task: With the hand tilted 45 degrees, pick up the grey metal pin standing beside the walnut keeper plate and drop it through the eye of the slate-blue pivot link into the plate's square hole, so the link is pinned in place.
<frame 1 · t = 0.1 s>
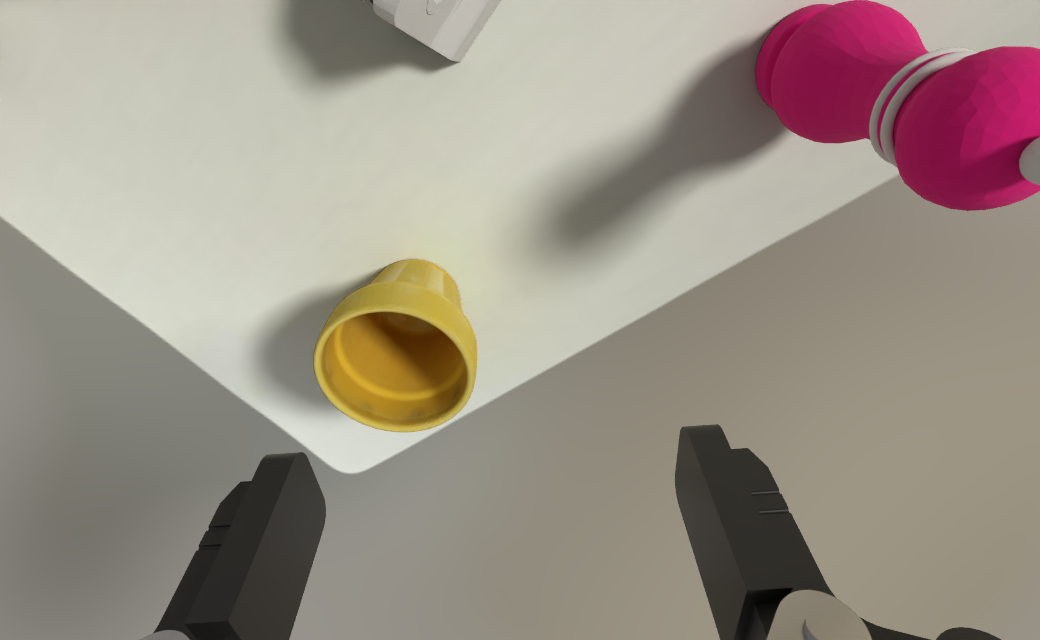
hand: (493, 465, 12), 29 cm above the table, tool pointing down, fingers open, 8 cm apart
plant pot: (415, 294, 44), on the table
pepper mill: (804, 60, 35), on the table
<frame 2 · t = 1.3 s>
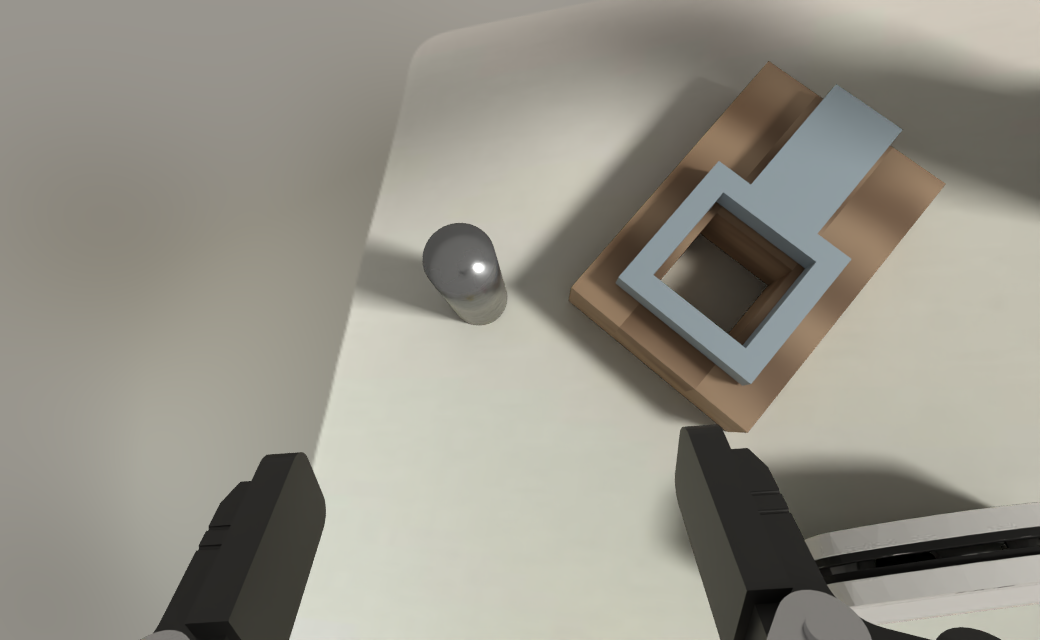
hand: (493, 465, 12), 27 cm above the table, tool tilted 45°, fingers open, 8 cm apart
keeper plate: (707, 290, 40), on the table
pivot link: (774, 219, 36), point 5 cm above the table, hinge at 0.0°
pin: (479, 298, 41), on the table
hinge: (895, 553, 37), on the table
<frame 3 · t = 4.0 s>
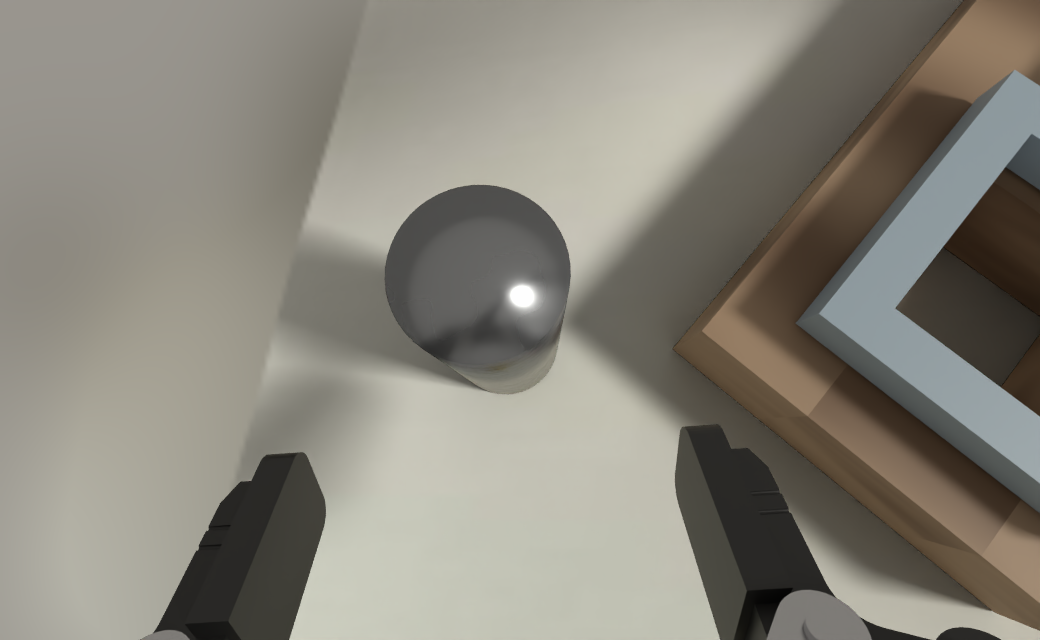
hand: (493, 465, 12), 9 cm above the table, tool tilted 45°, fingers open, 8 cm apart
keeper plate: (934, 330, 21), on the table
pin: (506, 342, 22), on the table
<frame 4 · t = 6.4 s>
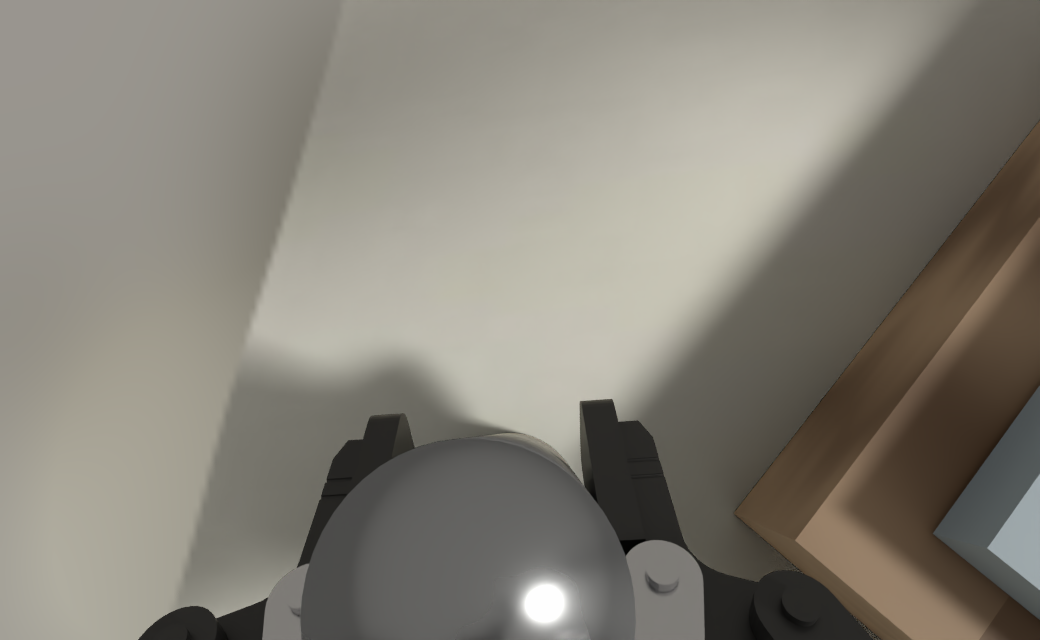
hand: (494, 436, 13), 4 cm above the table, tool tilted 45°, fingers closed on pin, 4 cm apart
pin: (510, 502, 17), on the table, touching gripper
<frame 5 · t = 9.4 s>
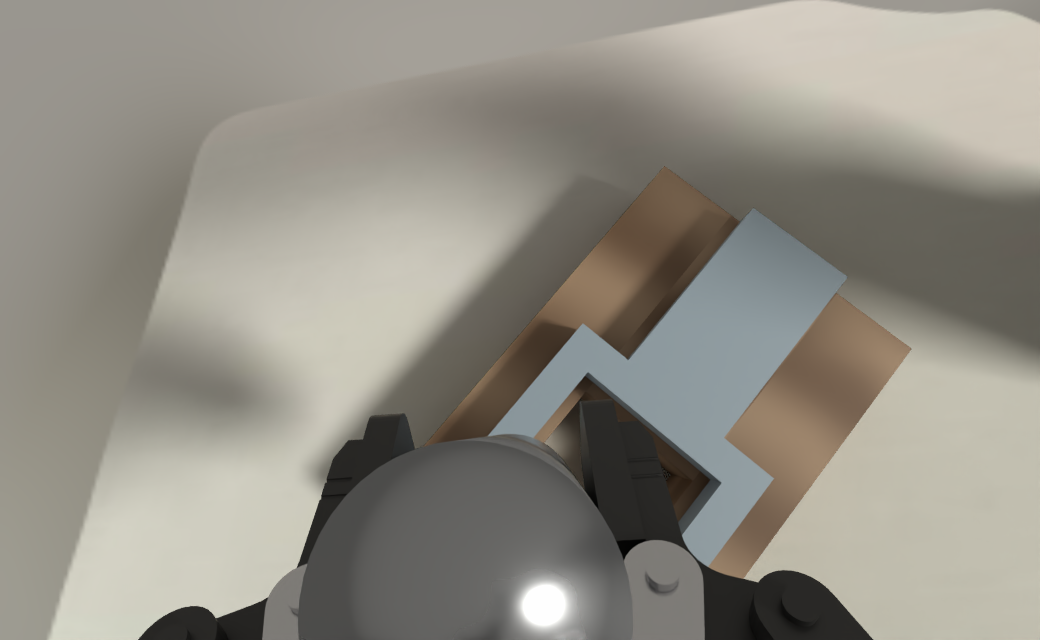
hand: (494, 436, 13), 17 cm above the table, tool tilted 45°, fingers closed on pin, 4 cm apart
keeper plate: (587, 481, 29), on the table
pivot link: (664, 408, 24), point 5 cm above the table, hinge at 0.0°
pin: (510, 503, 16), point 12 cm above the table, touching gripper
when the fingers open (10 cm above the table, at t = 12.2 s): pin drops 6 cm, resting in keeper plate.
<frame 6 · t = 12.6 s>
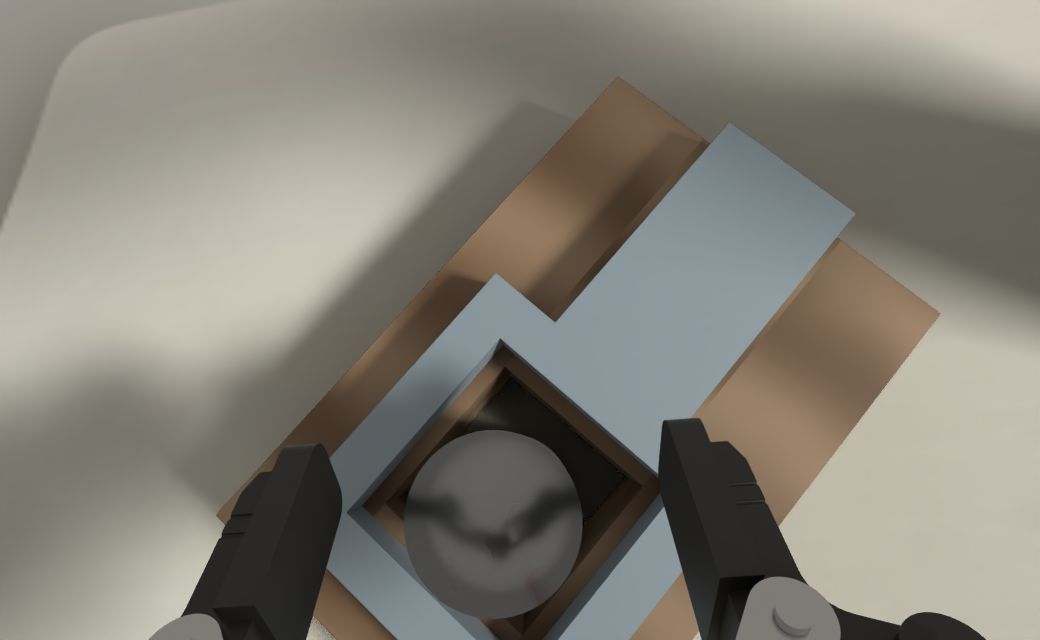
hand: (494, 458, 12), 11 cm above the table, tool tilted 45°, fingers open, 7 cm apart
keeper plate: (518, 483, 22), on the table
pivot link: (604, 388, 18), point 5 cm above the table, hinge at 0.0°
pin: (517, 486, 22), resting in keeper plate
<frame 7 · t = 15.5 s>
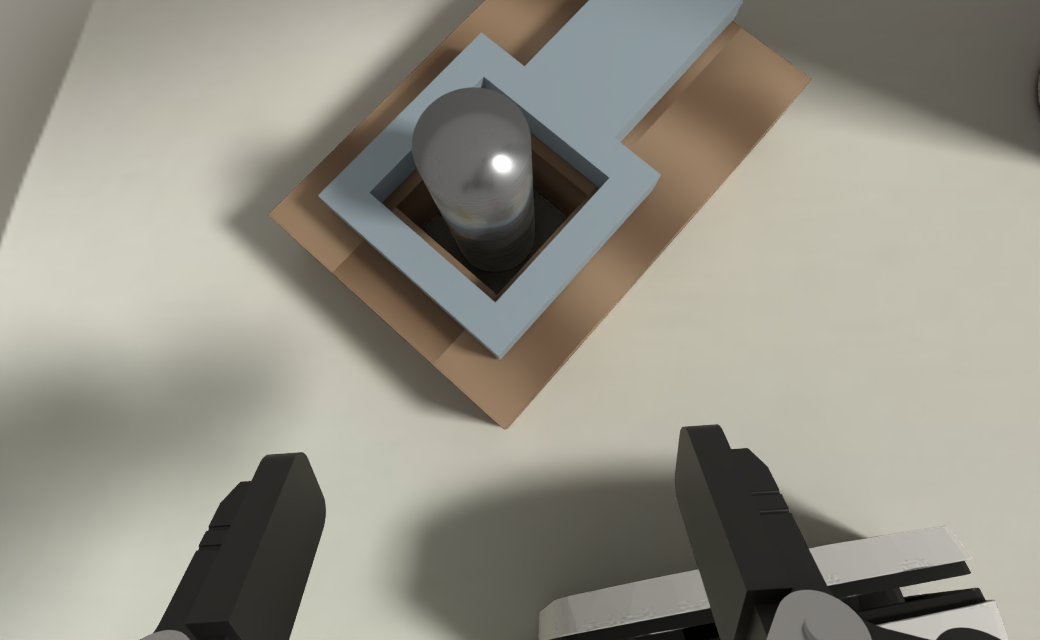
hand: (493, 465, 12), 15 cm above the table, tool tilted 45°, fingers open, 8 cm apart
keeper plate: (496, 231, 29), on the table
pivot link: (560, 119, 24), point 5 cm above the table, hinge at 0.0°
pin: (496, 233, 29), resting in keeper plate
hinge: (717, 603, 26), on the table
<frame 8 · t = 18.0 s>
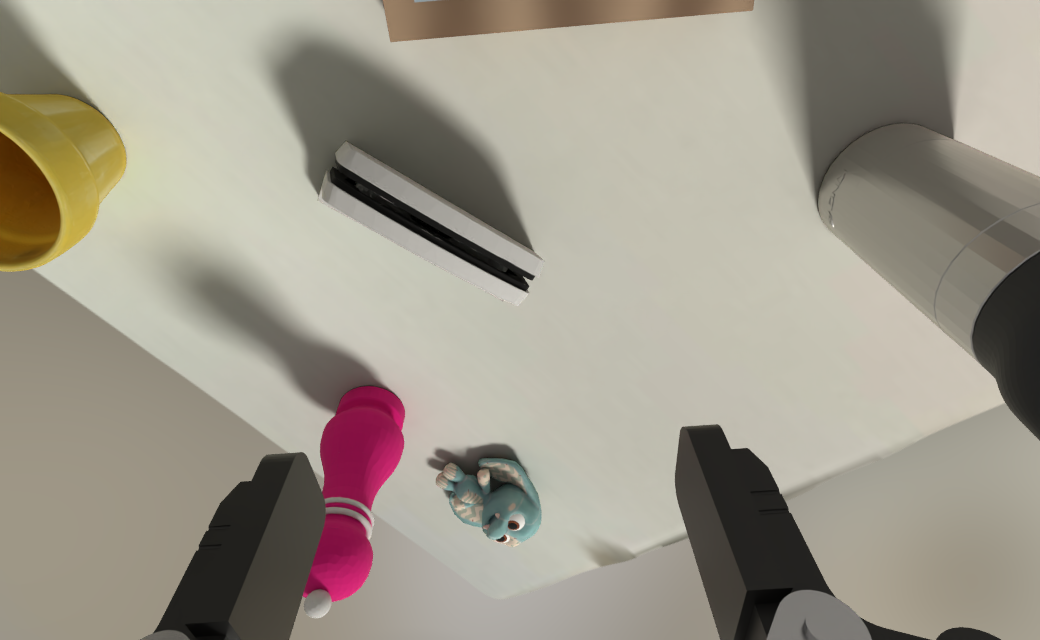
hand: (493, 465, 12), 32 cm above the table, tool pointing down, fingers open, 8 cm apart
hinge: (438, 209, 43), on the table
plant pot: (77, 140, 40), on the table
stuffed animal: (490, 480, 61), on the table
pepper mill: (372, 408, 54), on the table
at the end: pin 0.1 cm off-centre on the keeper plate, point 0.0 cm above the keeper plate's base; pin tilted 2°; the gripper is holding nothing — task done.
